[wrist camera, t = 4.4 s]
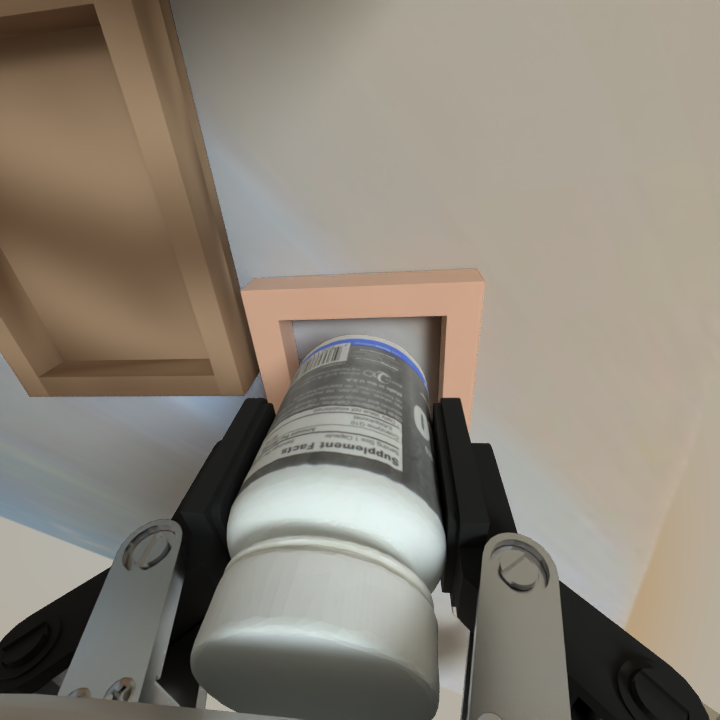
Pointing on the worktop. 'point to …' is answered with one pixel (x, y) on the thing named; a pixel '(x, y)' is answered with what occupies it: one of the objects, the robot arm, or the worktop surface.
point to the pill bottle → (334, 550)
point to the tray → (110, 210)
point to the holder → (368, 300)
